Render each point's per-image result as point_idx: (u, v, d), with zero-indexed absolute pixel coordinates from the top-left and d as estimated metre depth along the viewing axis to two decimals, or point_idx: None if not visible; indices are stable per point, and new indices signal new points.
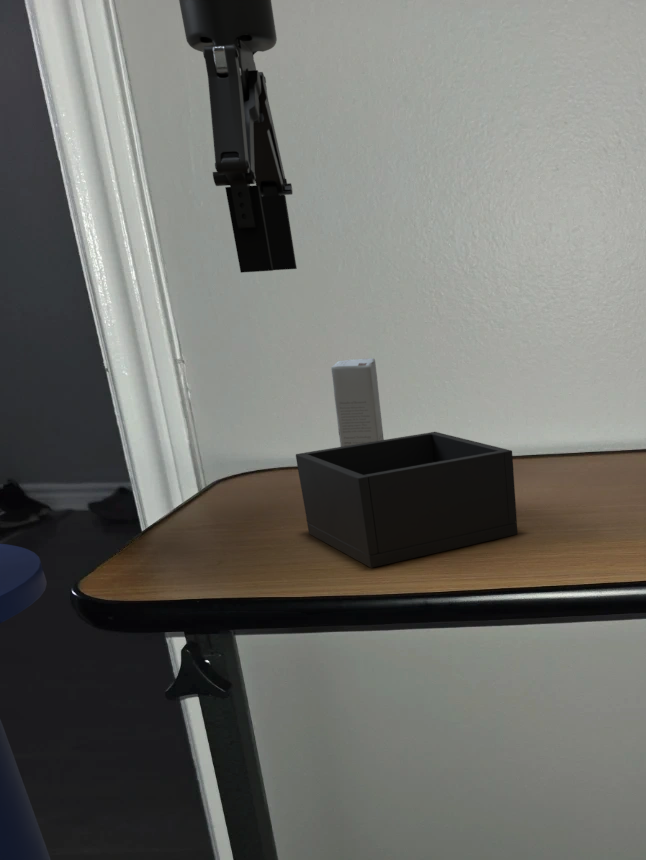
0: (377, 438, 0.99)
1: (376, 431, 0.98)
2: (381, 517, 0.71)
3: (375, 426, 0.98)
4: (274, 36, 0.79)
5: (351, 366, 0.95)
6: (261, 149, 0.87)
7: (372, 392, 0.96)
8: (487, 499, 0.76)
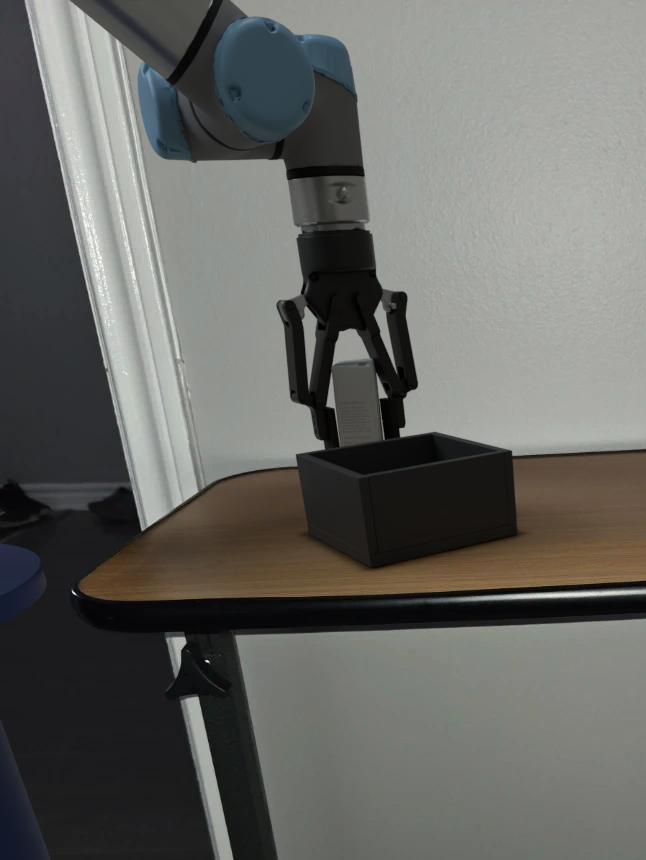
0: (377, 438, 0.99)
1: (376, 431, 0.98)
2: (381, 517, 0.71)
3: (375, 426, 0.98)
4: (348, 266, 0.90)
5: (351, 366, 0.95)
6: (373, 354, 0.98)
7: (372, 392, 0.96)
8: (487, 499, 0.76)
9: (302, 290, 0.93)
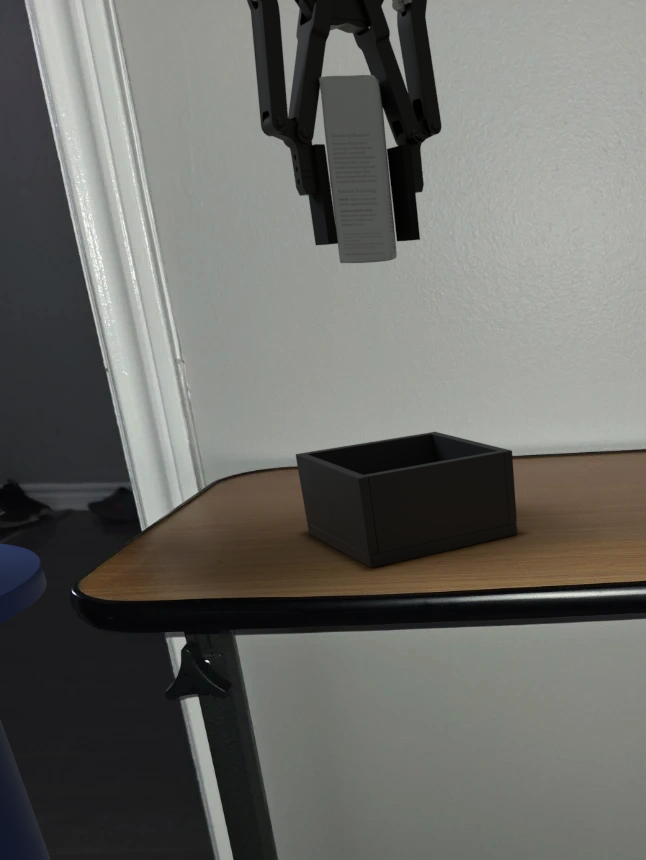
0: (385, 193, 0.70)
1: (384, 182, 0.69)
2: (381, 517, 0.71)
3: (382, 174, 0.69)
4: None
5: (348, 76, 0.66)
6: (379, 73, 0.69)
7: (378, 120, 0.67)
8: (487, 499, 0.76)
9: None
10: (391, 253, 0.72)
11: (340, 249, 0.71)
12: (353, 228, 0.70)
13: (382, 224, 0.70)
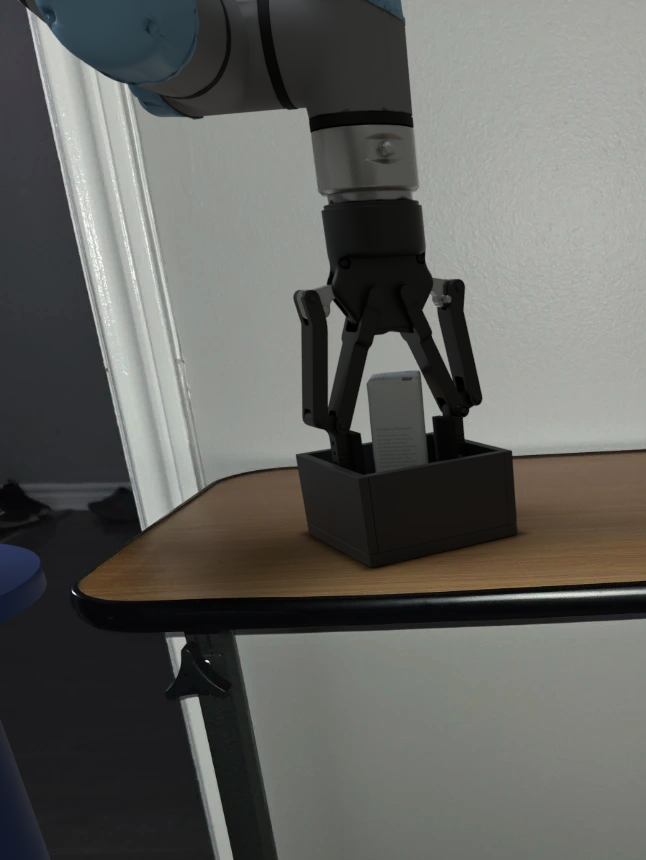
0: None
1: None
2: (381, 517, 0.71)
3: (422, 459, 0.75)
4: (391, 248, 0.68)
5: (392, 381, 0.72)
6: (424, 362, 0.76)
7: (419, 416, 0.74)
8: (487, 499, 0.76)
9: (329, 280, 0.70)
10: None
11: None
12: None
13: None
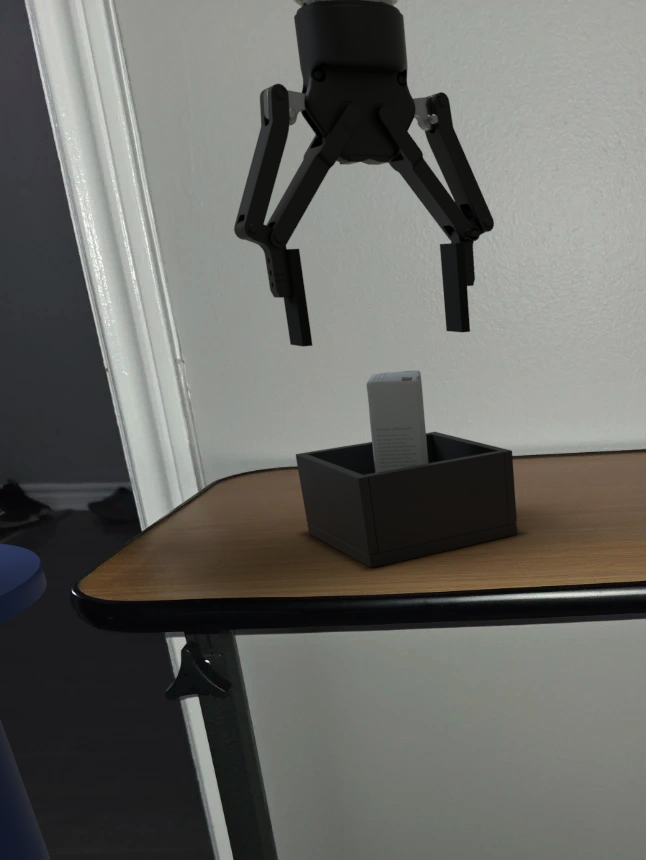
0: None
1: None
2: (381, 517, 0.71)
3: (422, 459, 0.75)
4: (369, 56, 0.62)
5: (392, 381, 0.72)
6: (422, 190, 0.71)
7: (419, 416, 0.74)
8: (487, 499, 0.76)
9: None
10: None
11: None
12: None
13: None
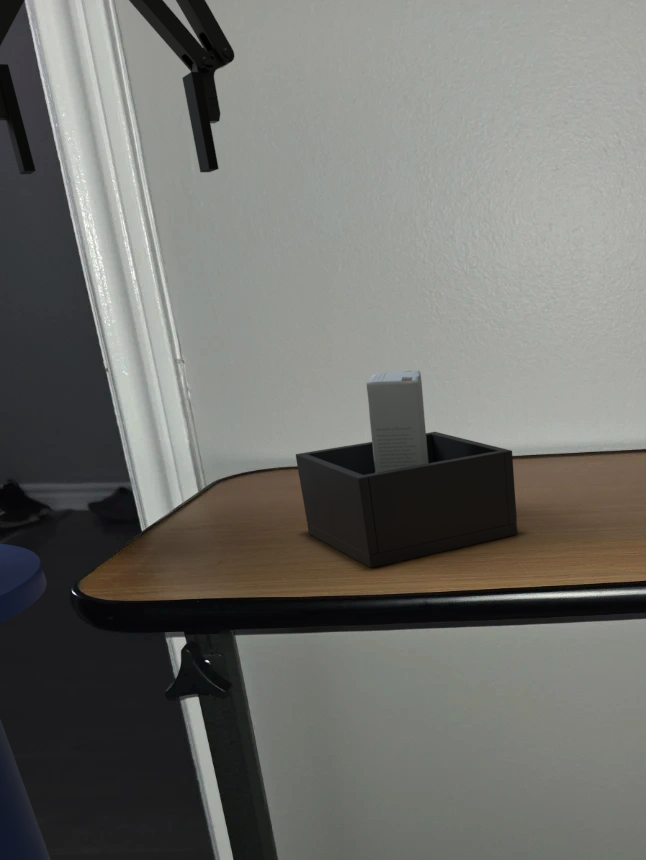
0: None
1: None
2: (381, 517, 0.71)
3: (422, 459, 0.75)
4: None
5: (392, 381, 0.72)
6: (149, 14, 0.70)
7: (419, 416, 0.74)
8: (487, 499, 0.76)
9: None
10: None
11: None
12: None
13: None
